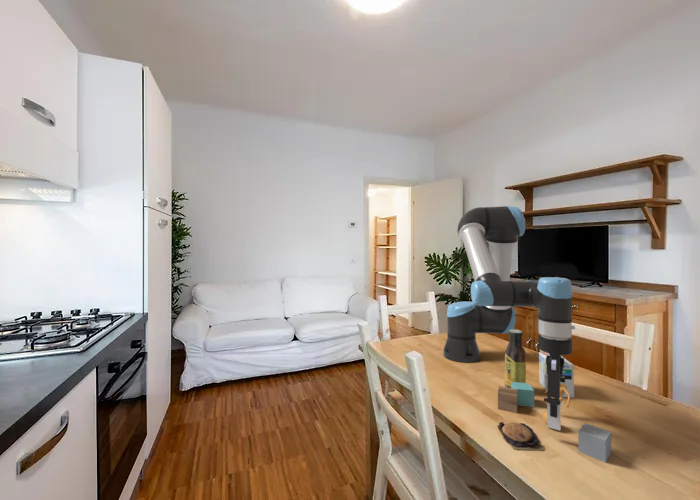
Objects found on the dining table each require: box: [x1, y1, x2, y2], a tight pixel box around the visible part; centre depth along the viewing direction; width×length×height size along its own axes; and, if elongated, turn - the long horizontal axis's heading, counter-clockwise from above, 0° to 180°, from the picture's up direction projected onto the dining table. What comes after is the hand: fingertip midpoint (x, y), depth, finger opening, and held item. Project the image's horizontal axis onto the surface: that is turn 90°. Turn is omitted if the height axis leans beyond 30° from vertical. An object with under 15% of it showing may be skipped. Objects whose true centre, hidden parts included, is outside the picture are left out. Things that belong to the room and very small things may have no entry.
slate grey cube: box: [577, 422, 612, 463], centre depth 73 cm, size 5×5×5 cm
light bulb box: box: [538, 352, 575, 399], centre depth 104 cm, size 11×7×11 cm, turn 168°
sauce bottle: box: [504, 328, 527, 388], centre depth 105 cm, size 7×6×20 cm
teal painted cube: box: [511, 382, 535, 408], centre depth 97 cm, size 5×5×5 cm
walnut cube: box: [497, 385, 518, 414], centre depth 94 cm, size 5×5×5 cm
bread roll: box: [496, 421, 546, 452], centre depth 79 cm, size 11×8×4 cm
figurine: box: [542, 383, 572, 426], centre depth 83 cm, size 8×6×12 cm
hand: (555, 416), depth 83 cm, fingers open, 13 cm apart
